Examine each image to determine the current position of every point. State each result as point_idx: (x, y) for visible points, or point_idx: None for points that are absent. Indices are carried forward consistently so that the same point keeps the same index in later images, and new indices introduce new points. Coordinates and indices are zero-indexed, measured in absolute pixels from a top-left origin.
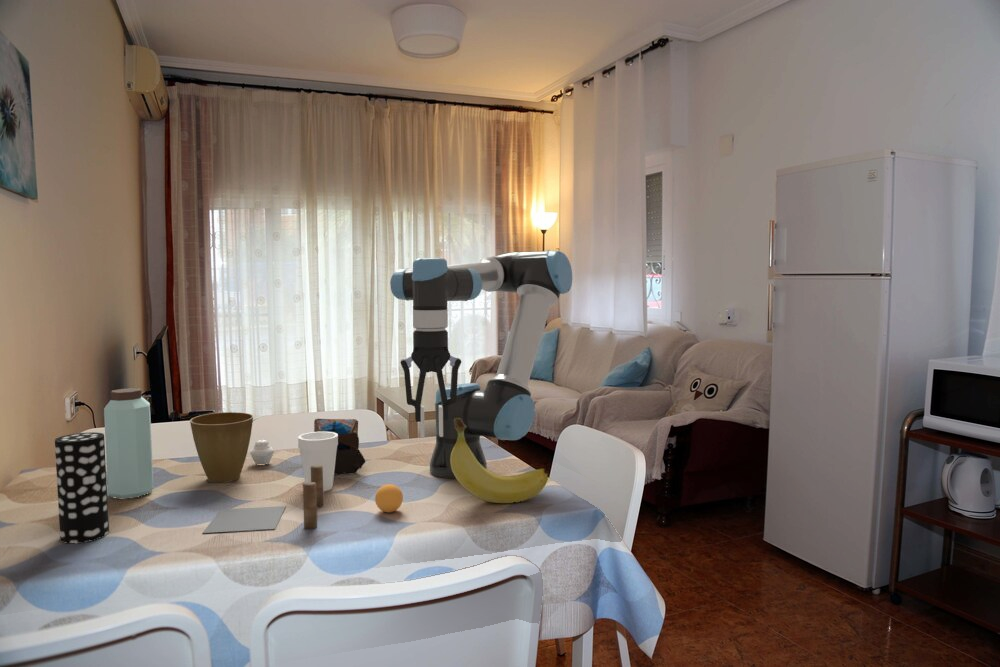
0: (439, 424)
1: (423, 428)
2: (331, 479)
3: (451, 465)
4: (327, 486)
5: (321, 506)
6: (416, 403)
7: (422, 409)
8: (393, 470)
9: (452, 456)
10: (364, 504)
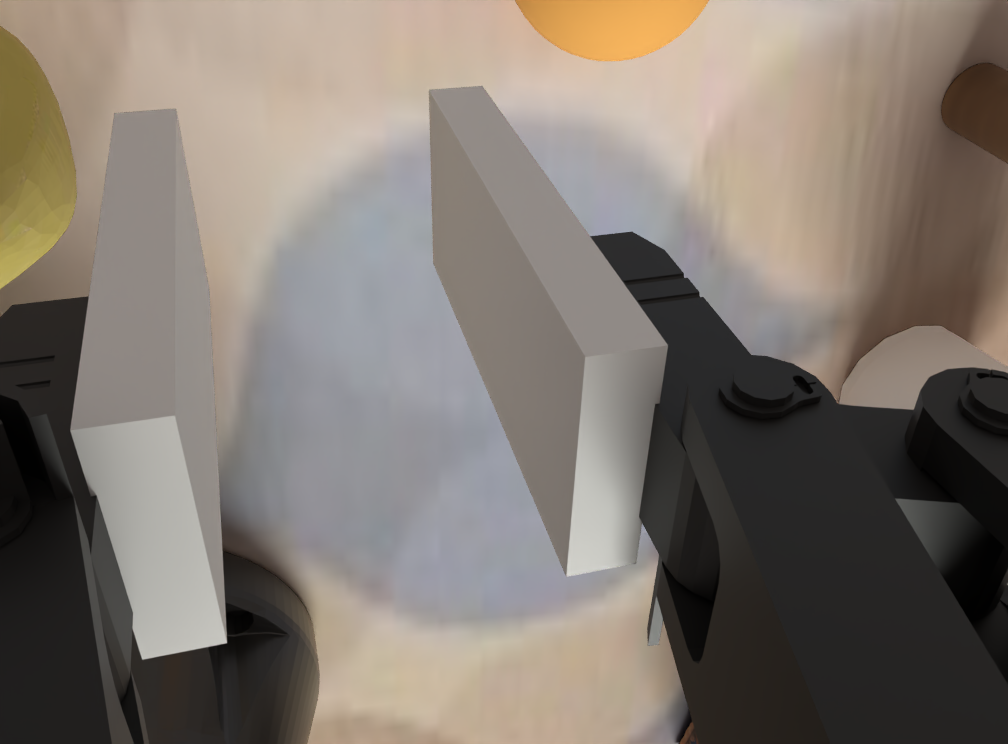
0: (181, 229)
1: (478, 143)
2: (881, 397)
3: (51, 98)
4: (886, 358)
5: (960, 76)
6: (816, 412)
7: (610, 332)
8: (515, 638)
9: (23, 131)
10: (720, 99)
